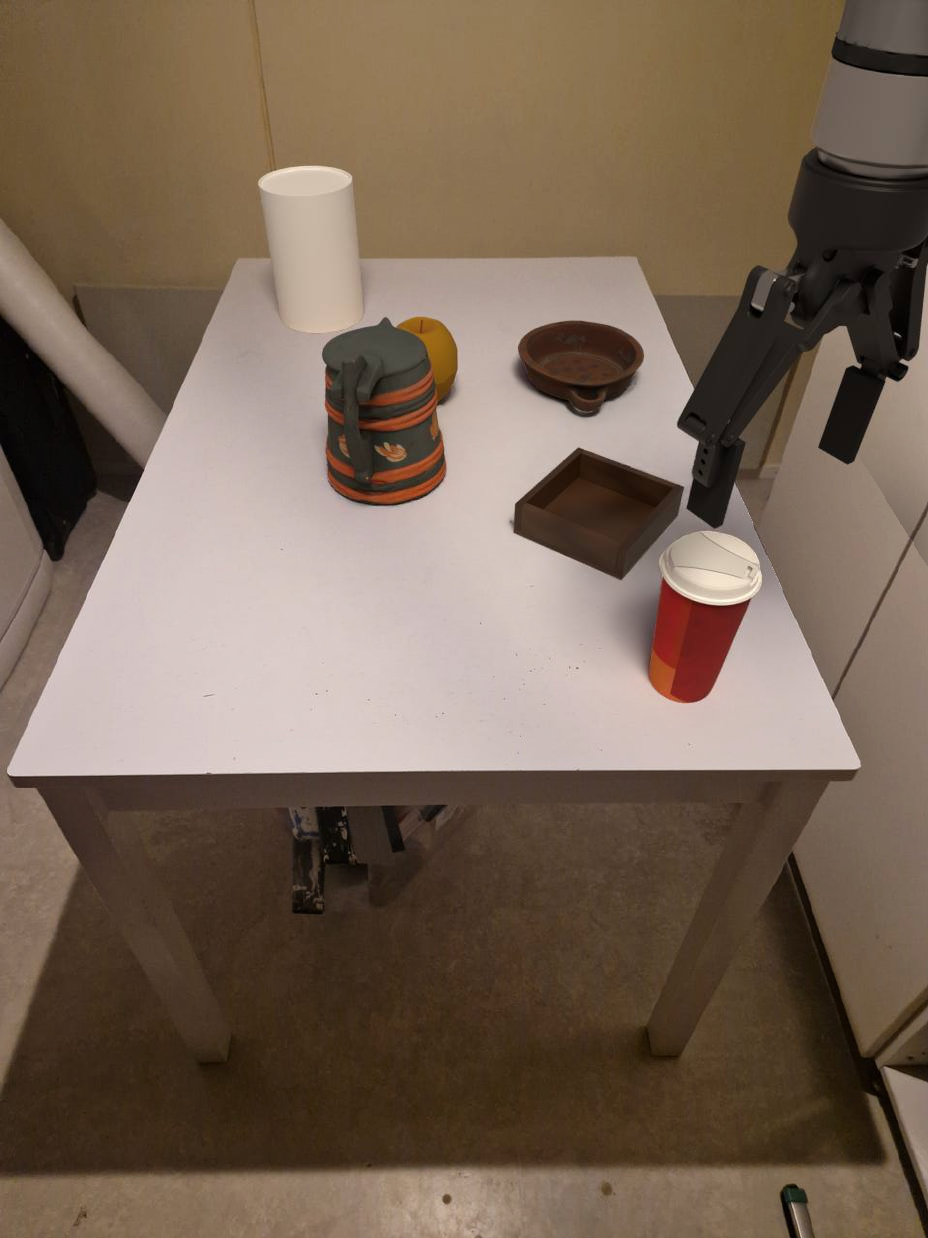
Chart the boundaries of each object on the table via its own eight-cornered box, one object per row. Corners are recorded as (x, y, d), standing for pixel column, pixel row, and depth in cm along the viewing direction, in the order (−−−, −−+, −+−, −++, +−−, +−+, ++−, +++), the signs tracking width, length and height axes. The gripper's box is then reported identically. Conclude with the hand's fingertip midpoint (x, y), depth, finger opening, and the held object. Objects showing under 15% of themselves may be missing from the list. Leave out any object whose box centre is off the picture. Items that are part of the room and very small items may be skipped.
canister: (296, 293, 139) (277, 163, 125) (374, 299, 137) (363, 168, 123) (267, 329, 130) (243, 192, 116) (350, 336, 128) (335, 198, 114)
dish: (520, 421, 110) (522, 387, 107) (513, 344, 126) (514, 312, 122) (650, 421, 110) (657, 387, 107) (627, 344, 126) (632, 312, 122)
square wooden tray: (678, 515, 96) (684, 486, 93) (621, 580, 88) (626, 550, 85) (575, 475, 102) (578, 446, 99) (513, 532, 94) (514, 503, 91)
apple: (391, 422, 110) (384, 339, 102) (385, 386, 117) (378, 305, 109) (463, 416, 111) (462, 333, 103) (453, 380, 118) (452, 300, 110)
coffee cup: (737, 668, 79) (779, 547, 68) (706, 726, 74) (746, 605, 63) (656, 635, 82) (683, 514, 71) (621, 688, 77) (645, 567, 67)
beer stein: (434, 535, 93) (429, 372, 79) (307, 527, 94) (279, 365, 80) (452, 442, 107) (449, 289, 93) (340, 437, 108) (321, 284, 94)
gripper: (955, 105, 51) (844, 410, 66) (655, 178, 41) (604, 516, 56) (1076, 134, 46) (927, 454, 61) (770, 224, 37) (682, 578, 52)
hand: (772, 484), depth 59 cm, fingers open, 13 cm apart
